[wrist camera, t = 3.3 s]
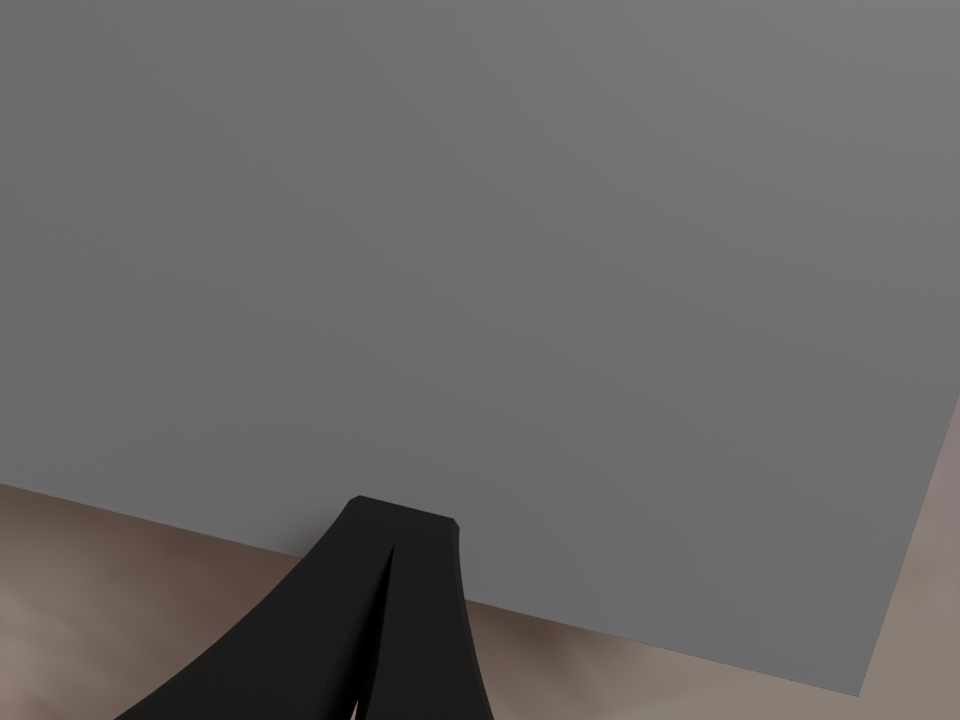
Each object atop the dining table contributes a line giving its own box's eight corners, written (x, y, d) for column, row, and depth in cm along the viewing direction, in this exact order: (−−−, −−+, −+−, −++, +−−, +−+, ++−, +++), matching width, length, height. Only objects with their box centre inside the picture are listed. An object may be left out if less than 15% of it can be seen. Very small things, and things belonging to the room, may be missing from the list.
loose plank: (1048, -102, 13) (1143, -159, 12) (811, 636, 15) (858, 696, 13) (3, -373, 13) (-85, -478, 11) (-120, 403, 15) (-215, 430, 13)
